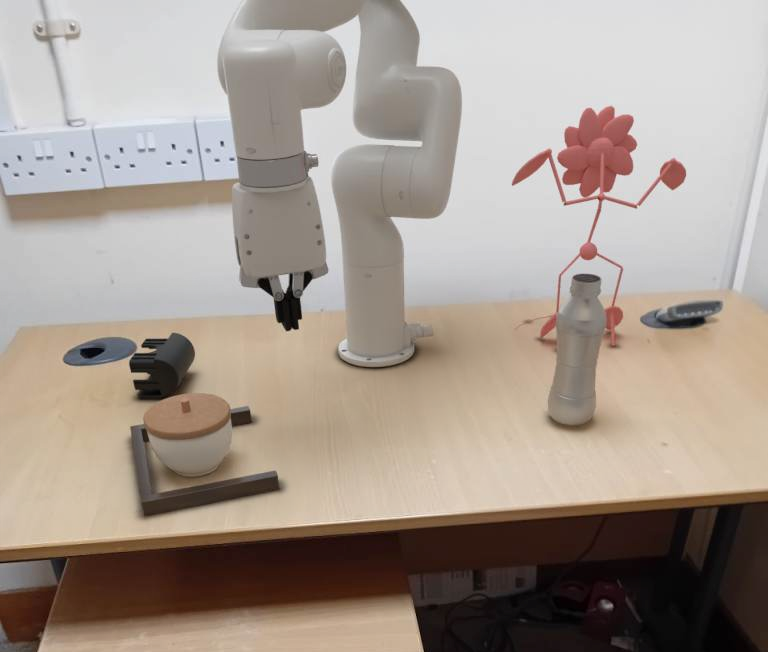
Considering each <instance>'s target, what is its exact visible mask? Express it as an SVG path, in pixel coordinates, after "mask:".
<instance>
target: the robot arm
mask: <svg viewBox="0 0 768 652" xmlns="http://www.w3.org/2000/svg"><path fill="white" fill-rule="evenodd" d="M356 17H358V22H359V28H360V35H359V36H360V40H359V47H358V48H359V50H358V56H357V62H356V71H355V78H354V86H353V91H352V92H353V93H352V102H351V119H352V124H353V127H354V129H355V130H356V131H357V133H359V134H360V135H361V136H363V137H366V138H369V139H374V140H375V139H376V140H384V141H402V142H403V141H405V142H407V141H408V142H421V146H407V145H394V144H368V143H367V144H356V145H351V146H348V147H346V148H344V149H343V150H341V151H340V152H339V153H338V154H337V155H336V156H335V157H334V160H333V162H332V165H331V170H330V181H331V189H332V195H333V198H334V203H335V207H336V213H337V218H338V223H339V230H340V240H341V256H342V274H343V276H342V277H343V291H344V309H345V327H346V337H345V338H344V339H343V340H341V341H340V342H339V344H338V347H337V350H338V356H339V357H340V358H341V360H343V361H344V362H346V363H348V364H351V365H354V366H358V367H364V368H365V367H366V368H384V367H390V366H394V365H395V366H396V365H398V364H401V363H404V362H406V361H407V360H409V359H411V357H412V356H413V355H414V353H415V343H414V342H415V341H416V339H419V338H422V339H423V338H428V337H433V336H434V327H433V325H432V324H424V325H421V322H419V321H415V322H411V323H407V322H406V320H405V319H406V318H405V245H404V241H403V238H402V235H401V233H400V231H399V229H398V227H397V226H396V224H395V223H394V221H393V219H392V218H401V219H418V220H419V219H420V220H421V219H422V220H429V219H430V220H431V219H435V218H438V217H439V216H441V215H442V214H443V213H444V212H445V210H446V208H447V206H448V203H449V200H450V196H451V190H452V184H453V177H454V171H455V164H456V158H457V151H458V150H457V149H458V145H459V144H458V143H459V137H460V129H461V121H462V113H463V95H462V87H461V84H460V80H459V79H458V76H457V75H456V74H455V73H454V72H453V71H452V70H450V69H448V68H446V67H442V66H431V65H430V66H428V65H427V66H426V65H425V66H424V65H423V66H420V65H419V66H418V65H417V64H418V56H419V49H420V41H421V38H420V37H421V36H420V35H421V34H420V31H419V28H418V26H417V23H416V22H415V20H414V18H413V16H412V15H411V13H410V11H409V9H408V8H407V7H406V5H404V3H403V2H402V1H401V0H242V1H241V2H240V3H239V4H238V6H237V7H236V9H235V11H234V13H233V15H231V19H230V20H229V22H228V24H227V25H226V28H225V30H224V33H223V35H222V37H221V40H220V43H219V47H218V50H217V51H218V52H217V60H216V61H217V62H216V67H217V68H216V69H217V70H216V71H217V77H218V81H219V84H220V86H221V88H222V90H223V92H224V93H225V95H226V96H227V102H228V110H229V117H230V125H231V131H232V138H233V139H232V140H233V147H234V154H235V160H236V169H237V174H238V181H239V182H235V183H234V184H233V185H232V191H231V192H232V193H231V210H232V211H231V212H232V213H231V214H232V226H233V227H232V228H233V237H234V248H235V255H236V260H237V263H238V266H239V275H238V281H239V283H240V285H241V287H243V288H251V289H261V290H262V291H264V293H267V294H268V295H269V296H271V297H272V298H273V305H274V312H275V320H276V323H277V324H281V325H282V327H283V329H284V330H285V332H291V330H294V331H297V330H300V324H299V321H300V320H303V313H302V303H301V298H302V296H303V295H304V292H305V290H306V288H307V287H308V286H309V284H311V282H312V281H313V280H316V279H318V278H321V277H324V276H325V275H328V273H329V267H328V264H327V247H326V238H325V231H324V226H323V220H322V213H321V208H320V203H319V199H318V198H319V197H318V195H317V191H316V187H315V183H314V180H313V179H312V177H311V176H309V172H310V170H311V169H313V168H318V167H319V157H318V154H317V153H310V152H307V151H306V150H305V140H304V139H305V138H304V131H303V130H304V129H303V119H302V110H310V109H320V108H324V107H326V106H328V105H330V104H331V103H333V102H334V101H335V100H336V99H337V98H338V97H339V96H340V94H341V92H342V91H343V88H344V86H345V83H346V77H347V63H346V62H347V61H346V56H345V54H344V51H343V48H342V47H341V45H340V43H339V42H338V41H337V39H335V38H334V37H333V36H332V35H330V34H329V33H327V32H328V31H331V30H333V29H335V28H338V27H340V26H343V25H344V24H347V23H348V22H350V21H352V20H354V19H355V18H356ZM284 275H288V277H287V278H288V280H287V288H286V290H285V291H284V289H283V287H282V284H281V283H282V282H281V279H280V276H284Z"/></svg>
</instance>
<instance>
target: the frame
mask: <svg viewBox="0 0 768 652" xmlns="http://www.w3.org/2000/svg"><path fill="white" fill-rule="evenodd" d="M230 410H231V424H232V427H233V426H239V425H244V424H245V425H246V424H250V423H253V419H252V413H251V409H250V406H249V405H245V406H240V407H234V408H233V407H232V408H230ZM129 428H130V437H131V442H132V450H133V456H134V463H135V464H134V465H135V469H136V470H135V471H136V478H137V484H138V491H139V499H140V504H141V508H142V512H143V516H144V517H147V516H152V515H156V514H162V513H167V512H171V511H173V512H174V511H175V510H176V511H177V510H178V511H179V510H182V509H187V508H193V507H198V506H202V505H206V504H207V505H208V504H212V503H217V502H222V501H227V500H232V499H237V498H243V497H247V496H252V495H257V494H263V493H268V492H271V491H277V490H280V482H279V475H278V473H277V470H270V471H264V472H260V473H254V474H249V475H245V476H244V475H243V476H240V477H234V478H228V479H224V480H219V481H214V482H209V483H203V484H198V485H193V486H187V487H183V488H178V489H172V490H166V491H161V492H157V493H154V491H153V486H152V480H151V475H150V474H151V473H150V468H149V462H148V456H147V451H146V444H145V442H150V441H149V438H148V434H147V430H146V428H145V425H144V423H142V424H136V425H130V426H129Z"/></svg>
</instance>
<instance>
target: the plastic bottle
mask: <svg viewBox="0 0 768 652" xmlns="http://www.w3.org/2000/svg"><path fill="white" fill-rule="evenodd" d="M601 287H602V277H601V276H599V275H597V274H593V273H577V274H574V275H573V276H572V277H571V283H570V287H569V293H570V296H569V297H568V298H567V299H566V300H565V301H564V302H563V303H562V304H561V306H559V311H558V313H557V316H556V326H555V328H556V359H555V360H556V362H555V368H554V373H553V379H552V384H551V387H550V389H549V393H548V398H547V411H548V414H549V415H550V417H551V418H552V419H553V420H554V421H555V422H557V423H559V424H561V425H566V426H580V425H584V424H586V423H588V422H589V421H590V420H591V419H592V418H593V416H594V413H595V411H596V408H597V393H596V392H597V391H596V381H597V380H596V379H597V378H596V377H597V366H598V359H599V355H600V349H601V345H602V341H603V338H604V335H605V331H606V323H607V317H606V312H605V310H604V309H605V308H604V305H603V304H602V302H601V301H600V299H599V297H598V296H600V295H601V293H602V288H601Z"/></svg>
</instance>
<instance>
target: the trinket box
mask: <svg viewBox="0 0 768 652" xmlns="http://www.w3.org/2000/svg"><path fill="white" fill-rule="evenodd" d="M230 409H231V406H230V404H229V402H228V401H227V400H225V398H223V397H220V396H218V395H215V394H211V393H203V392H190V393H183V394H177V395H172V396H169V397H167V398H164V399H160V400H159V401H157V402H156V403H154V404H152V405H151V406H150V407H148V408H147V409H146V411H145V412H144V414H143V419H142V421H143V424H144V425H145V428H146V430H147V434H148V438H149V441H148V442H149V444H150V446H151V449H152V451H153V452H154V454H155V456H156V458H157V459H158V460H159V461H160V462H161V464H163V465H164V466H165V467H166V468H168V469H170V470H171V471H174V473H176V474H177V475H178V476H182V477H186V478H193V477H194V478H196V477H202V476H205V475H206V476H207V475H209V474H211V473H213V472H214V471H216V470H217V469H219V467H220V465H221V463H222V462H223V461H224V459H226V457H227V455H228V454H229V452H230V449H231V445H232V439H233V426H232V424H231V410H230Z"/></svg>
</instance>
